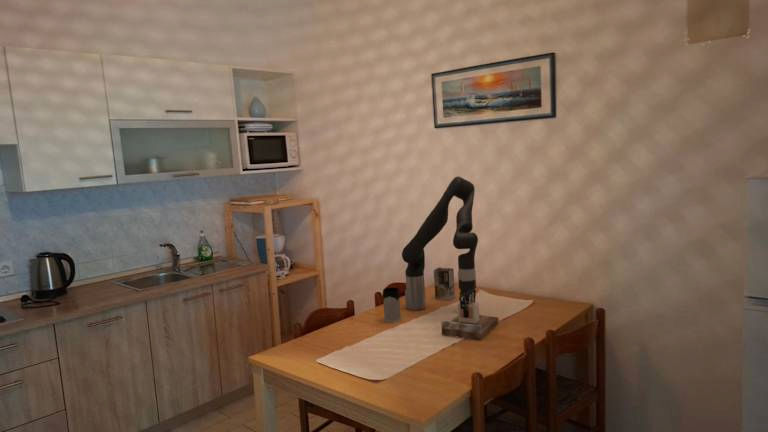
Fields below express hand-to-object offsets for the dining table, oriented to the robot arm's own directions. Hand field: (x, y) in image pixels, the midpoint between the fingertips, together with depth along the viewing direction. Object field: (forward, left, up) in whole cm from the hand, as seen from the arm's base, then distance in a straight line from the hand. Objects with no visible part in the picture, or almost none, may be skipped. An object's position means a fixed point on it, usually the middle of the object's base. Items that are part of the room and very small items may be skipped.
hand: (468, 315), depth 230 cm
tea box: (0, 0, -2) cm, 2 cm away
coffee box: (-30, +41, -7) cm, 51 cm away
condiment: (-12, +25, -7) cm, 29 cm away
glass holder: (-40, +3, -7) cm, 41 cm away
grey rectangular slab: (0, +2, -7) cm, 7 cm away
